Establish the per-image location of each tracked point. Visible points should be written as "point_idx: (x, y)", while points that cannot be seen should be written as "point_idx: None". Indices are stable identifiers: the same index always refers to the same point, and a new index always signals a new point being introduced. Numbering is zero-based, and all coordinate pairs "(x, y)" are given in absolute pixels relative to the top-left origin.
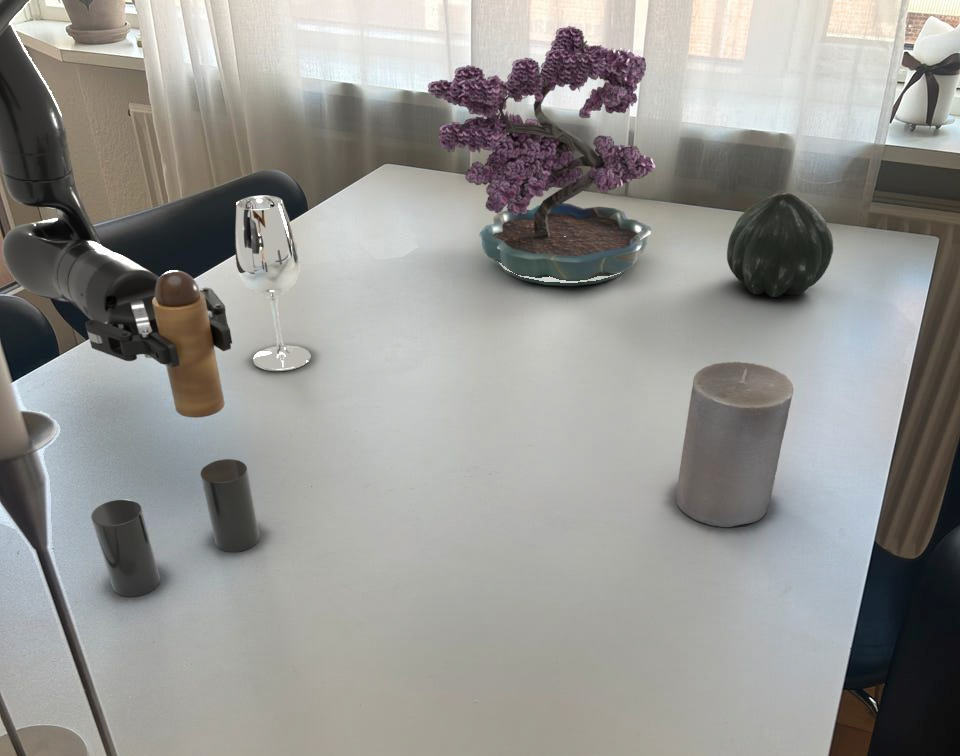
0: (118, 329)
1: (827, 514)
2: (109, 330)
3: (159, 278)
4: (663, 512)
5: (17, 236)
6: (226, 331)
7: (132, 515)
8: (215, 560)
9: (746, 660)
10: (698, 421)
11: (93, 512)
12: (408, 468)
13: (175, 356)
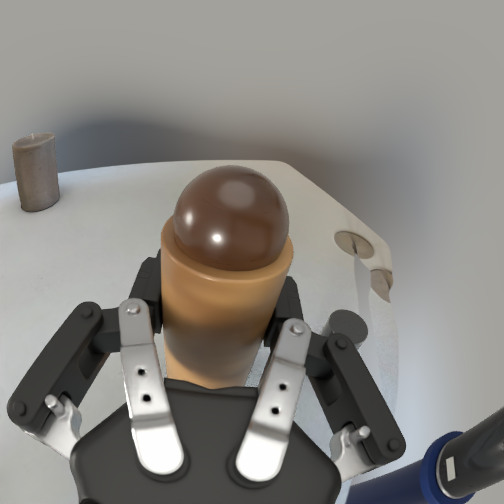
0: (347, 373)
1: None
2: (365, 381)
3: (274, 198)
4: (53, 210)
5: None
6: None
7: (338, 313)
8: None
9: (139, 174)
10: (47, 155)
11: (365, 337)
12: (54, 324)
13: None
